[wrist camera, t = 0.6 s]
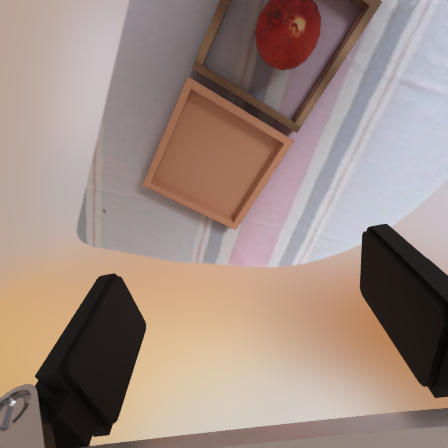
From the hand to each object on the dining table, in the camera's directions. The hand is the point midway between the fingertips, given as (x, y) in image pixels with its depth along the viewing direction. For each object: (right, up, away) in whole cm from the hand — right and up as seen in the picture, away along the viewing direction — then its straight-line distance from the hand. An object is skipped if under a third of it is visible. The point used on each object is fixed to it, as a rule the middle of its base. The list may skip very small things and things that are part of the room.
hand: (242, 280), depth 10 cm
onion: (+5, +22, +17) cm, 28 cm away
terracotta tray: (-2, +10, +23) cm, 25 cm away
